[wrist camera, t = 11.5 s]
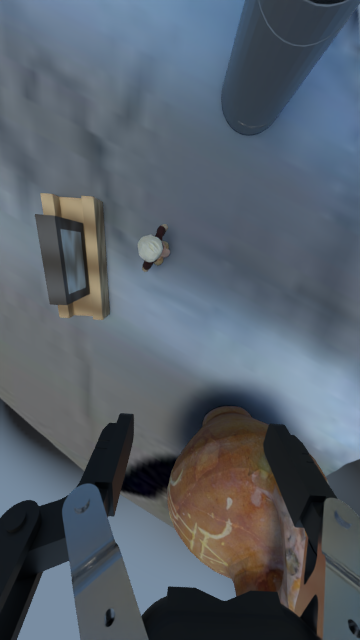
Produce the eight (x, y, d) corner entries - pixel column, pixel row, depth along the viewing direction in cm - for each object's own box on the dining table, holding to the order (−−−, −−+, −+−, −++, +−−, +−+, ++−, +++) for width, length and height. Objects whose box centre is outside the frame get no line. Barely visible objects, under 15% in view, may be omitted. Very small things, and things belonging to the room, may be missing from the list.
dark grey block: (67, 222, 33) (34, 214, 25) (83, 223, 33) (54, 215, 25) (76, 293, 37) (49, 304, 29) (90, 293, 37) (67, 305, 29)
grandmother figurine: (164, 273, 38) (157, 284, 26) (145, 267, 37) (128, 275, 25) (176, 230, 35) (173, 221, 23) (155, 224, 35) (141, 210, 23)
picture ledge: (55, 199, 34) (40, 193, 30) (102, 202, 34) (93, 196, 30) (70, 311, 40) (59, 317, 37) (109, 313, 40) (102, 319, 37)
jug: (162, 454, 54) (142, 676, 26) (184, 367, 45) (190, 569, 17) (260, 469, 56) (340, 691, 28) (300, 388, 47) (484, 602, 18)
